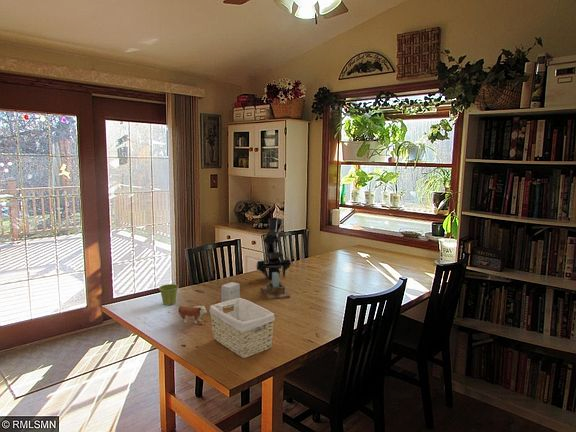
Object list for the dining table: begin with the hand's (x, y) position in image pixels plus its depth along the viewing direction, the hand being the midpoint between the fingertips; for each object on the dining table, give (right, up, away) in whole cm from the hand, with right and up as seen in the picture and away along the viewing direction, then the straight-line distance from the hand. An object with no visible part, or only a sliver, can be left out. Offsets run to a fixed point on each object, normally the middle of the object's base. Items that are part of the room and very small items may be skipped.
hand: (275, 278), depth 220 cm
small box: (-22, -11, -17) cm, 30 cm away
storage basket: (-12, -17, -60) cm, 63 cm away
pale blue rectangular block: (0, -7, +1) cm, 8 cm away
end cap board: (0, -8, +2) cm, 9 cm away
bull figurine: (-36, -14, -39) cm, 55 cm away
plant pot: (-54, -11, -16) cm, 57 cm away
